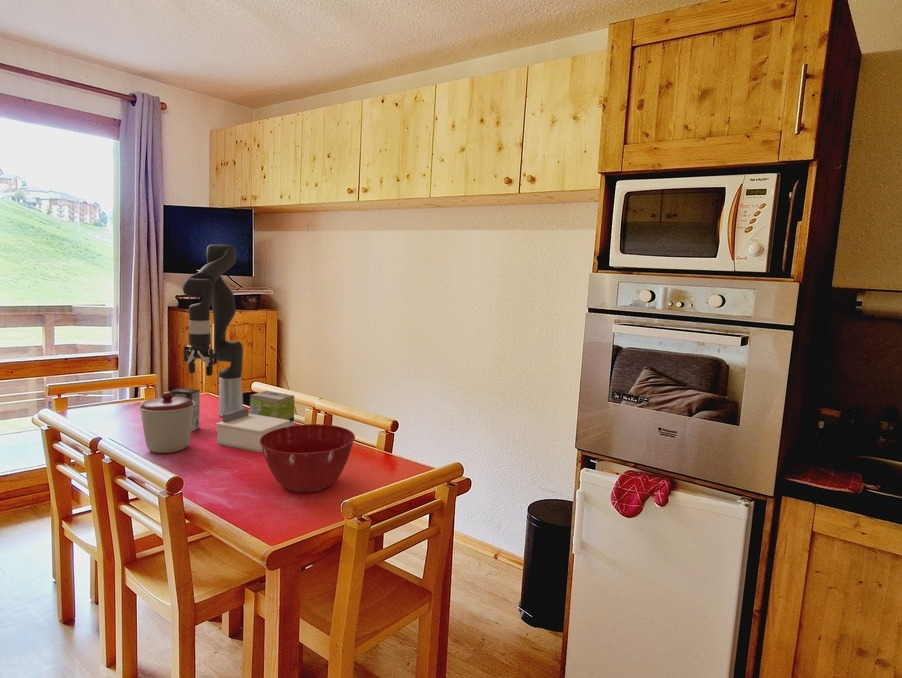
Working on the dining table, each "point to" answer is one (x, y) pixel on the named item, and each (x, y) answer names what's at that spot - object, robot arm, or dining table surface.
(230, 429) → the box
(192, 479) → the dining table surface
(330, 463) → the mixing bowl
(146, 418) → the canister
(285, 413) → the tea box
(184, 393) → the coffee box
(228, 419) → the lid
